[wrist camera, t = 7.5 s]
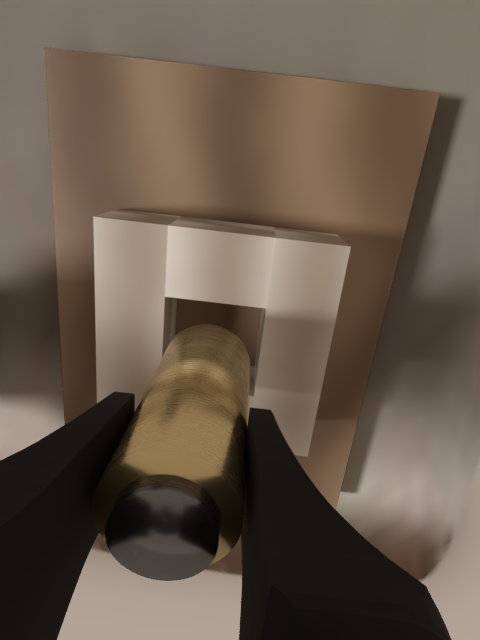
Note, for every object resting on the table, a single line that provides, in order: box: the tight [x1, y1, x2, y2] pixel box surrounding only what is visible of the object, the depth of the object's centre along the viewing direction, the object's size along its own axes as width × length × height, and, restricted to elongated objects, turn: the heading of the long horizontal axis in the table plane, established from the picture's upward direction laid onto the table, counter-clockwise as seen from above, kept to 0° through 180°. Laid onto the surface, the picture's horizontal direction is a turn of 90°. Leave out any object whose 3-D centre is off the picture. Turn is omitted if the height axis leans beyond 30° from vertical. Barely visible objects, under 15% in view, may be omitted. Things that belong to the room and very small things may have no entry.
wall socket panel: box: [45, 47, 440, 510], centre depth 20 cm, size 16×22×4 cm
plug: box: [92, 324, 250, 581], centre depth 12 cm, size 3×3×8 cm
